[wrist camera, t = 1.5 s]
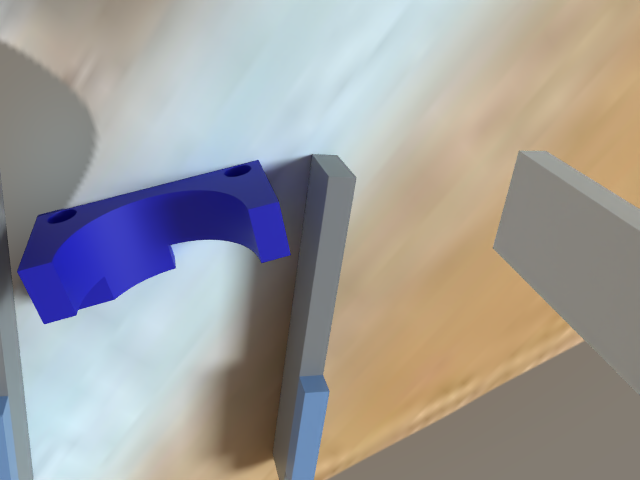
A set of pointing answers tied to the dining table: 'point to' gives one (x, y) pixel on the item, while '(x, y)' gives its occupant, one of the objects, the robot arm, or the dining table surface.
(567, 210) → the robot arm
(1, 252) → the blue grey block group
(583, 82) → the dining table surface
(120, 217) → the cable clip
